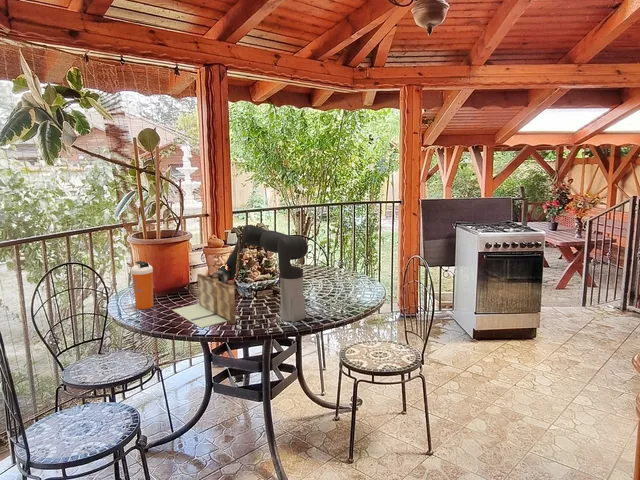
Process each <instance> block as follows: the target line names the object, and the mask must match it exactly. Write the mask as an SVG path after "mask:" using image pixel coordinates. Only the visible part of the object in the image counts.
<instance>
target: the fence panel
mask: <svg viewBox="0 0 640 480" xmlns="http://www.w3.org/2000/svg"><path fill="white" fill-rule="evenodd" d="M196 276H197V286H198V289H197V290H198V304H200V305H202V306H203V307H205V308H207V309H209V310H211V311H213V312H214V295H213V279H212V278H210V277H209V276H207V275H205V274H202V273H197V274H196Z"/></svg>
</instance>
